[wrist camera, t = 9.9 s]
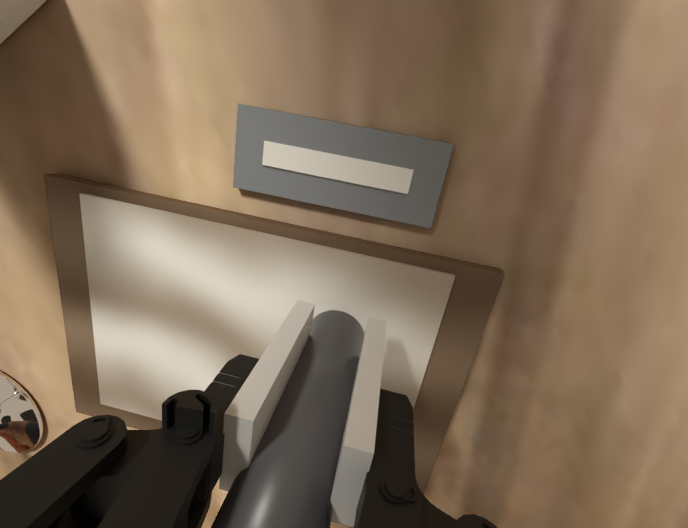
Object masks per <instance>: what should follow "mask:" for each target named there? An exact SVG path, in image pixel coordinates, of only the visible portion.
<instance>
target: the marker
mask: <svg viewBox="0 0 688 528" xmlns="http://www.w3.org/2000/svg"><path fill="white" fill-rule="evenodd" d="M363 339H364V331H363V328H362V326H361V325H360V323H359V322H358V321H357V320H356V319H355V318H354V317H353V316H351V315H350V314H348V313H346V312H343V311H338V310H330V311H325V312H322V313H320V314H318V315H317V316H316V317H315V318H314V319H313V320H312V326H311V332H310V336H309V338H308V340H307V343H306V345H305V347H304V349H303V351H302V353H301V355H300V358H299V360H298V362H297V364H296V366H295V368H294V370H293V373H292V375H291V377H290V379H289V381H288V383H287V385H286V388H285V390H284V392H283V394H282V396H281V398H280V400H279V402H278V405H277V407H276V409H275V411H274V413H273V415H272V417H271V420H270V422H269V424H268V426H267V428H266V430H265V432H264V435H263V437H262V439H261V441H260V443H259V445H258V447H257V450H256V452H255V454H254V456H253V458H252V460H251V462H250V465H249V467H247V468H245V469H244V470H242V471H241V472H240V473H239V474H238V475H237V476H236V478H235V479H234V481H233V483H232V486H231V488H230V490H229V492H228V494H227V496H226V498H225V500H224V502H223V504H222V506H221V508H220V510H219V512H218V514H217V516H216V518H215V520H214V523H213V525H212V527H211V528H330V523H331V518H332V504H331V501H330V499H331V494H332V489H333V484H334V479H335V474H336V469H337V464H338V459H339V455H340V450H341V445H342V440H343V435H344V430H345V425H346V420H347V415H348V410H349V405H350V400H351V395H352V390H353V385H354V380H355V376H356V371H357V366H358V361H359V356H360V352H361V347H362V343H363Z"/></svg>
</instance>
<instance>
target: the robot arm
mask: <svg viewBox="0 0 688 528" xmlns="http://www.w3.org/2000/svg"><path fill="white" fill-rule="evenodd" d="M314 308H315V304H313V303H308V302H304V301H300V300H297V302H296V303H295V305H294V307H293V308H292V310H291V311H290V313H289V314H288V316H287V317H286V319H285V320H284V322H283V324H282V325H281V327H280V328H279V330H278V331H277V333H276V334H275V336H274V337H273V339H272V341H271V342H270V344H269V345H268V347H267V348H266V350H265V351H264V353H263V354H262V356H261V358H260V359H258V358H254V357H250V356H246V355H242V354H239V355H237V356H236V357H234V358H232V359H231V360H229V361H228V362H227V363H226V364H225V365H224V367H223V368H222V369H221V370H220V373H218V374H217V376H216V377H215V378H214V379H213V382H211V383H210V385H209V386H208V387H207V388H206V390H205V391H201V390H185V391H181V392H178V393H176V394H174V395H172V396H170V397H168V398H167V399H166V400H165V401H164V402H163V403H162V428H160V429H152V430H127V427H126V424H125V421H123V420H122V419H121V418H119V417H118V416H113V415H98V416H94V417H91V418H88V419H85V420H83V421H81V422H79V423H78V424H76V425H74V426H73V427H71V428H70V429H69V430H67V431H66V432H65V433H63V434H62V435H60V436H59V437H58V438H56V439H55V440H54V441H52V442H51V443H50V444H48V445H47V446H46V447H44V448H43V449H42V450H40V451H39V452H38V453H36V454H35V455H34V456H32V457H31V458H30V459H28V460H27V461H26V462H24V463H23V464H22V465H20V466H19V467H17V468H16V469H15V470H13V471H12V472H11V473H9V474H8V475H7V476H5V477H4V478H3V479H1V480H0V528H201V527H202V525H203V522H204V519H205V517H206V514H207V512H208V509H209V507H210V502H211V494H212V490H213V488H214V486H215V485H216V483H217V481H218V479H219V477H220V484H219V489H222V490H226V491H229V490H230V488H231V486H232V483H233V481H234V479H235V478H236V476H237V475H238V474H239V473H240V472H241V471H242V470H244V469H245V468H247V467H249V465H250V462H251V460H252V458H253V456H254V454H255V452H256V450H257V447H258V445H259V443H260V441H261V439H262V437H263V435H264V432H265V430H266V428H267V426H268V424H269V422H270V420H271V417H272V415H273V413H274V411H275V409H276V407H277V405H278V402H279V400H280V398H281V396H282V394H283V392H284V390H285V388H286V385H287V383H288V381H289V379H290V377H291V375H292V373H293V370H294V368H295V366H296V364H297V362H298V360H299V358H300V355H301V353H302V351H303V349H304V347H305V345H306V343H307V340H308V338H309V336H310V332H311V326H312V320H313V314H314ZM386 322H387V321H384V320H380V319H376V318H372V317H368V321H367V326H366V330H365V334H364V339H363V343H362V347H361V352H360V356H359V361H358V366H357V371H356V376H355V380H354V385H353V390H352V395H351V400H350V405H349V410H348V415H347V420H346V425H345V430H344V435H343V440H342V445H341V450H340V455H339V459H338V464H337V469H336V474H335V479H334V484H333V489H332V494H331V499H330V501H331V504H332V518H331V521H333V522H336V523H340V524H343V525H347V526H350V527H353V526H354V528H497V527H496V526H495V525H494V524H492V523H491V522H490V521H488V520H487V519H485V518H483V517H480V516H477V515H474V514H472V515H463V516H462V517H460V518H459V519H457V520H455V519H454V518H452V517H451V516H449V515H447V514H446V513H444V512H442V511H441V510H439V509H438V508H437V507H435V506H434V505H432V504H431V503H430V502H429V501H428V500H427V499H426V498H425V496H424V495H423V493H422V492H421V490H420V489H419V486H418V484H417V481H416V476H415V451H414V434H413V433H414V423H413V407H412V405H411V403H410V401H409V399H408V397H407V395H404V394H400V393H396V392H392V391H388V390H384V389H380V385H381V375H382V364H383V354H384V343H385V333H386ZM354 522H355V523H354Z"/></svg>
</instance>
